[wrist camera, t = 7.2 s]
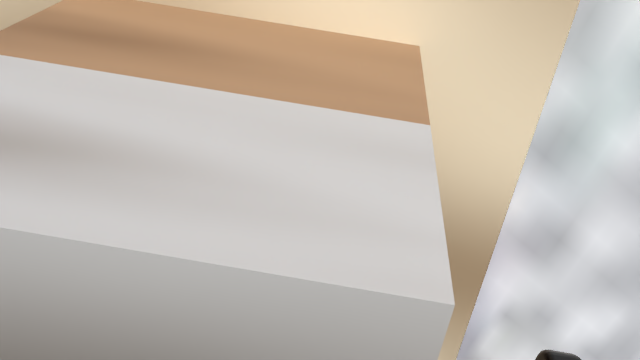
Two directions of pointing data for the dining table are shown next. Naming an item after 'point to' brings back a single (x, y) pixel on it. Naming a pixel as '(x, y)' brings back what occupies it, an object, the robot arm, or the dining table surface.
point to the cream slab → (443, 99)
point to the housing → (214, 191)
